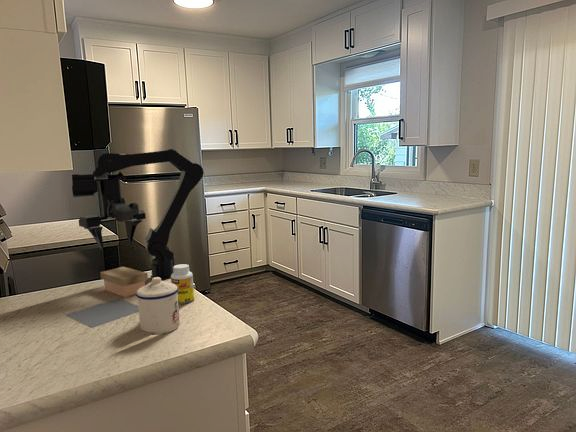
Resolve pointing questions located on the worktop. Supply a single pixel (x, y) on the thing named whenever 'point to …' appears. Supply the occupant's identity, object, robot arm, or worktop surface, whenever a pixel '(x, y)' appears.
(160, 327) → the teacup with lid
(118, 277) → the tan flat block
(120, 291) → the peach open box
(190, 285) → the supplement bottle
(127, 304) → the rubber mat
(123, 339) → the worktop surface
